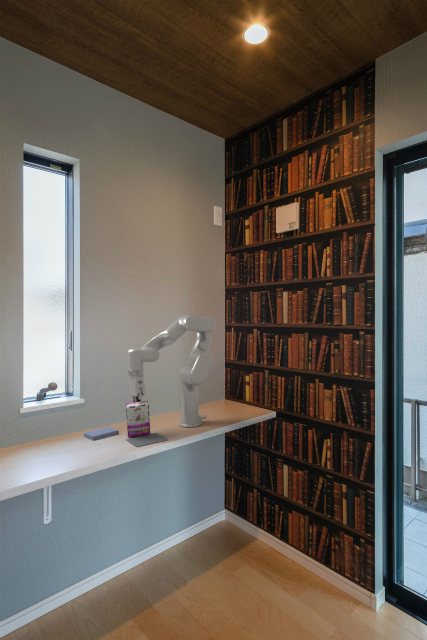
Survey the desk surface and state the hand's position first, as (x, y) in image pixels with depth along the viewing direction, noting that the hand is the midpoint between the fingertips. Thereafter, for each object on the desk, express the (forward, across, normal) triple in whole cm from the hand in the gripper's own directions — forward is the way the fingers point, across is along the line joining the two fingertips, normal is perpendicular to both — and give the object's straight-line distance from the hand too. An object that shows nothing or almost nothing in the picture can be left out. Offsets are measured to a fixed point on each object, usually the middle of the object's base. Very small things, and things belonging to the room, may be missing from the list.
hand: (137, 409), depth 186 cm
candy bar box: (+12, -1, 0) cm, 12 cm away
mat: (+13, -11, 0) cm, 17 cm away
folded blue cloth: (+13, +11, +15) cm, 23 cm away
